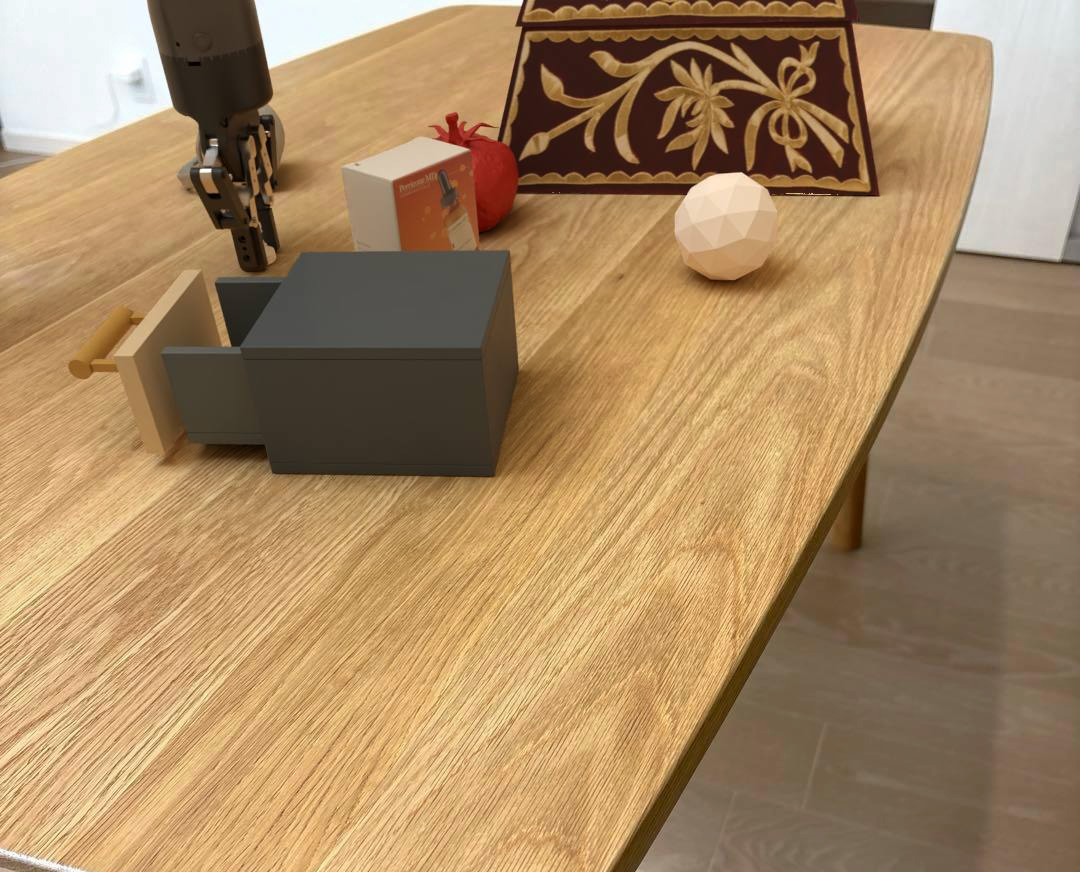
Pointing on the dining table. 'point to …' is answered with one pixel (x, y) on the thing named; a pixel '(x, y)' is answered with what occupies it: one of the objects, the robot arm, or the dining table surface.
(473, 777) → the dining table surface
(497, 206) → the pomegranate
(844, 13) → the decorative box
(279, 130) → the ceramic mug
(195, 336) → the drawer
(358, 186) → the small box
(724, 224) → the geometric ball
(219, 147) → the robot arm
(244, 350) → the cabinet
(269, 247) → the chess pawn
